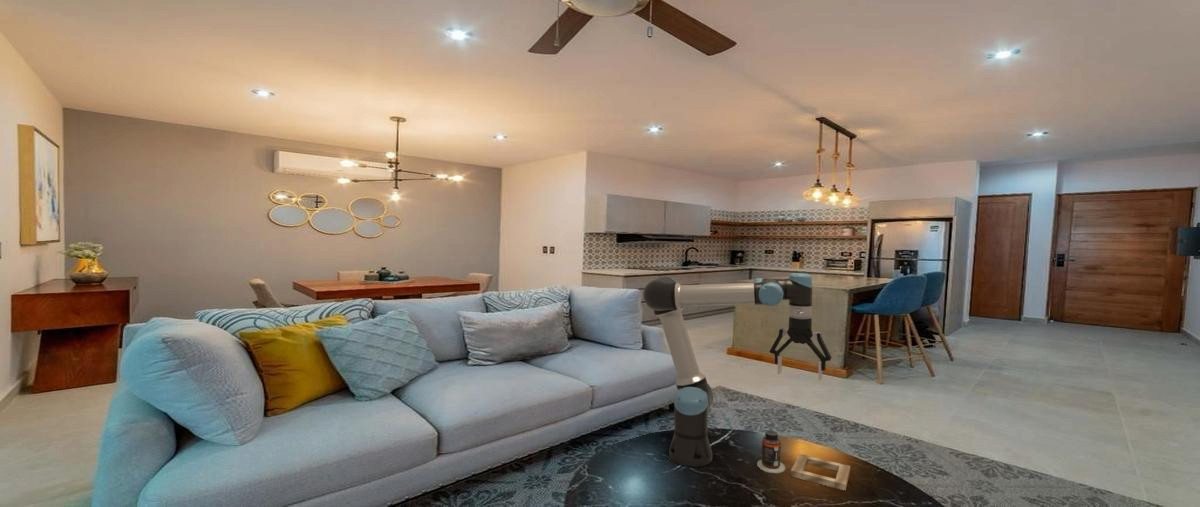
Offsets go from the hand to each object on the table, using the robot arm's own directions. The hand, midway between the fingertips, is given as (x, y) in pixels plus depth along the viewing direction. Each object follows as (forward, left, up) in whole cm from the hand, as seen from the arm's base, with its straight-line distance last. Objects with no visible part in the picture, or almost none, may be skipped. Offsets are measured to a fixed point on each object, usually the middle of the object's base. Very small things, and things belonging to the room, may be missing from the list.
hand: (799, 376), depth 170 cm
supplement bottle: (-6, -14, -29) cm, 32 cm away
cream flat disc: (-6, -14, -29) cm, 33 cm away
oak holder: (+9, -10, -29) cm, 32 cm away
